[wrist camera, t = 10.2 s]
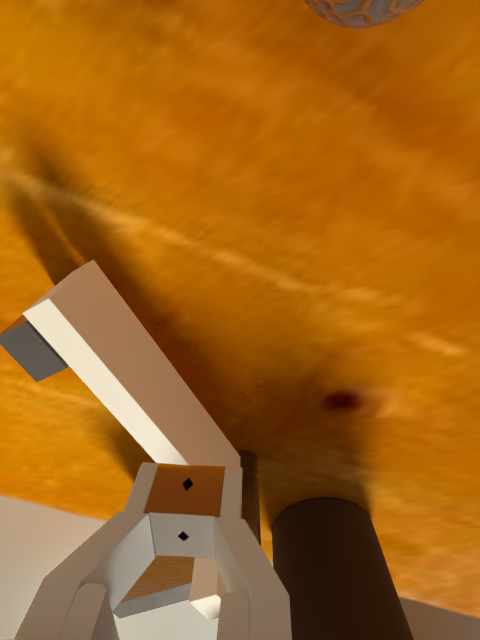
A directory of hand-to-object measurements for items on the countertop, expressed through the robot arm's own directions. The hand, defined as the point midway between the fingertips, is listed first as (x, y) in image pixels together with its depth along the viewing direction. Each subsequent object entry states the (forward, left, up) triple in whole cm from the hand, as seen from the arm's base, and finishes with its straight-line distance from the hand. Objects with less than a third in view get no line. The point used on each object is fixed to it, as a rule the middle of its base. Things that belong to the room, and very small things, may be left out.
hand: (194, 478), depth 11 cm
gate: (-3, +6, -13) cm, 15 cm away
